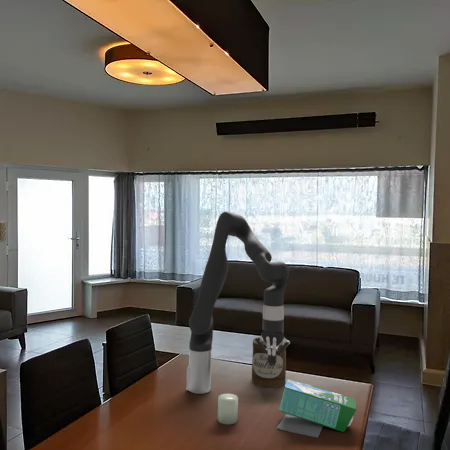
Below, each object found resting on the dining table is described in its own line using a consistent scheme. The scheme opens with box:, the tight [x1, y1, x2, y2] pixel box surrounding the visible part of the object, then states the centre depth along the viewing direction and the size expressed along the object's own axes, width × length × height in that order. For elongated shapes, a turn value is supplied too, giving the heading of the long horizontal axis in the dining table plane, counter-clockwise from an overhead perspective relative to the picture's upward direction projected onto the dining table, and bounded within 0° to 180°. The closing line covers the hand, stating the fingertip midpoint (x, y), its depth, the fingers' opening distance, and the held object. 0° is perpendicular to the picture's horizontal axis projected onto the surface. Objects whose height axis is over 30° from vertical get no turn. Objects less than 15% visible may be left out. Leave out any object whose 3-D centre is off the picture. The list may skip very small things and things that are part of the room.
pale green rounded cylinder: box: [217, 393, 239, 425], centre depth 160 cm, size 7×7×8 cm
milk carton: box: [278, 377, 358, 433], centre depth 159 cm, size 9×9×25 cm
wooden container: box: [251, 337, 287, 389], centre depth 198 cm, size 15×15×22 cm
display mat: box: [276, 413, 324, 439], centre depth 158 cm, size 14×14×1 cm
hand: (272, 365), depth 162 cm, fingers closed
